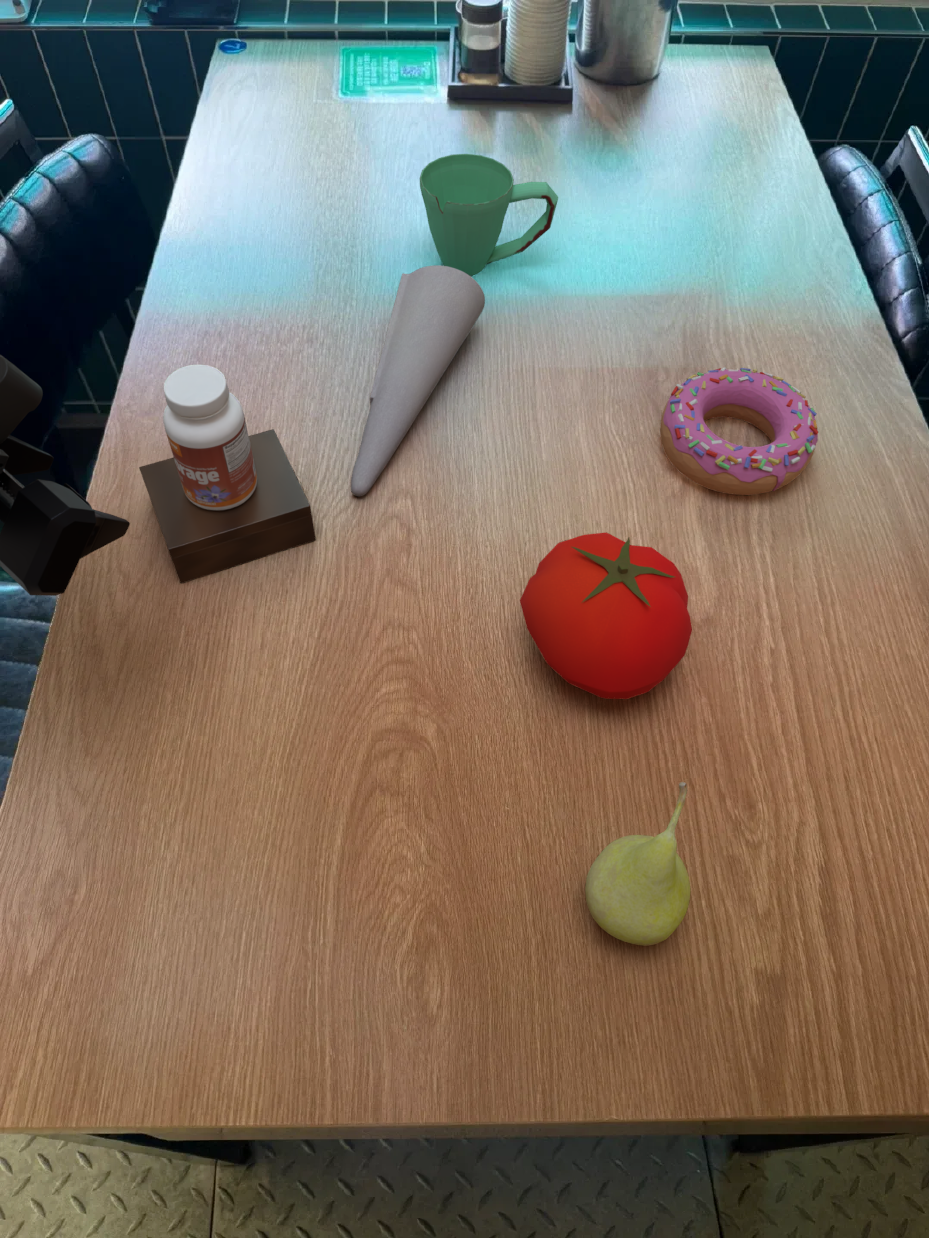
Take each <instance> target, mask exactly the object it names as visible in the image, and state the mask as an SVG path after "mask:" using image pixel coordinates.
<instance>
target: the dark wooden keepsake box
mask: <svg viewBox="0 0 929 1238" xmlns="http://www.w3.org/2000/svg"><path fill="white" fill-rule="evenodd" d="M248 436H249V441H250V445H251V450H252V455H253V460H254V465H255V469H256V474H257V484H256V488H255V490H254V492H253V494H252V495H251V496H250V497H249V499H247V500H246V501H245V502H244V503H242V504H241V505H239V506H237V507H234V508H231V509H226V510H207V509H204V508H201V507H198V506H197V505H195V504H193V503H192V502H191V501H190V500H189V499H188V498H187V496H186V494H185V492H184V490H183V487H182V483H181V480H180V477H179V473H178V470H177V467H176V463H175V460H174V458H173V457H171V458H170V457H169V458H166V459H163V460H159V461H155V462H152V463H149V464H145V465H142V466H139V471H140V474H141V477H142V480H143V482H144V485H145V488H146V492H147V494H148V497H149V500H150V503H151V506H152V509H153V511H154V514H155V517H156V519H157V522H158V525H159V528H160V530H161V534H162V537H163V539H164V542H165V546H166V547H167V550H168V553H169V556H170V559H171V562H172V565H173V567H174V569H175V572H176V575H177V578H178V581H179V583H180V584H183V583H186V582H190V581H192V580H195V579H199V578H203V577H205V576H208V575H212V574H215V573H218V572H220V571H224V570H227V569H230V568H233V567H236V566H239V565H243V564H246V563H248V562H249V563H250V562H253V561H255V560H258V559H261V558H265V557H268V556H271V555H274V554H277V553H281V552H283V551H284V552H285V551H287V550H290V549H293V548H295V547H299V546H302V545H305V544H308V543H312V542H314V541H316V540H317V538H316V532H315V525H314V519H313V512H312V506H311V504H310V502H309V500H308V498H307V496H306V494H305V491H304V489H303V487H302V485H301V483H300V481H299V479H298V476H297V475H296V473H295V470H294V469H293V466H292V464H291V462H290V460H289V458H288V456H287V454H286V452H285V450H284V448H283V446H282V443H281V441H280V440H279V437H278V435H277V433H276V431H275V429H273V428H272V429H268V430H264V431H262V432H261V431H260V432H258V433H255V434H251V435H248Z"/></svg>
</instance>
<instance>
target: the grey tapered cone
mask: <svg viewBox="0 0 929 1238" xmlns="http://www.w3.org/2000/svg"><path fill="white" fill-rule="evenodd" d="M485 305H486V296H485V292H484V290H483V288H482V287H481V285H480V284H479V283H478V282H477V280H476V279H474V278H473V276H469V275H468V274H466V273H464V272H462V271H460V270H458V269H455V268H452V267H448V266H443V265H440V264H439V265H438V264H437V265H427V266H423V267H419V268H418V269H416V270H414V271H412V272H411V273H401V276H400V280H399V284H398V288H397V291H396V294H395V299H394V303H393V306H392V311H391V315H390V318H389V323H388V327H387V330H386V334H385V338H384V342H383V345H382V349H381V352H380V356H379V361H378V364H377V368H376V372H375V377H374V379H373V384H372V387H371V388H372V389H371V391H370V395H369V404H370V405H369V406H370V408H369V412H368V415H367V418H366V422H365V425H364V429H363V433H362V438H361V440H360V445H359V449H358V452H357V456H356V459H355V462H354V464H353V466H352V473H351V478H350V491H351V493H352V495H353V496H356V497H362V496H365V495H366V494H367V493H368V492H369V491H370V490H371V488H372V487H373V485H374V484H375V482H376V481H377V479H378V478H379V476H380V475H381V473H382V472H383V470H384V469H385V468H386V466H387V465H388V463H389V462H390V460H391V458H392V456H393V455H394V454H395V452H396V450H397V449H398V447H399V445H400V444H401V443H402V441H403V440H404V437H405V436H406V434H407V433H408V431H409V430H410V428H411V426H412V425H413V423H414V422H415V420H416V418H417V417H418V415H419V413H420V412H421V410H422V409H423V408H424V406H425V404H426V402H427V400H428V399H429V397H430V396H431V394H432V393H433V391H434V389H435V388H436V386H437V384H438V383H439V381H440V380H441V378H442V377H443V375H444V374H445V372H446V370H447V369H448V367H449V366H450V364H451V363H452V361H453V359H454V358H455V356H456V354H457V352H458V351H459V349H460V347H461V346H462V344H463V343H464V342H465V340H466V338H467V337H468V336H469V334H470V332H471V331H472V329H473V327H474V326H475V324H476V323H477V321H478V319H479V317H480V316H481V314H482V313H483V312H484V309H485Z"/></svg>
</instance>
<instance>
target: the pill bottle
mask: <svg viewBox="0 0 929 1238" xmlns="http://www.w3.org/2000/svg"><path fill="white" fill-rule="evenodd" d="M163 394H164V398H165V402H166V406H165V408H164V410H163V413H162V422H163V423H162V424H163V427H164V432H165V434H166V437H167V441H168V444H169V447H170V450H171V454H172V456H173V457H172V458H174V460H175V463H176V467H177V470H178V473H179V477H180V480H181V483H182V487H183V490H184V492H185V494H186V496H187V498H188V499H189V500H190V501H191V502H192V503H193V504H195V505H197V506H198V507H201V508H204V509H207V510H226V509H231V508H234V507H237V506H239V505H241V504H242V503H244V502H245V501H246V500H247V499H249V497H250V496H251V495H252V494H253V492H254V490H255V488H256V484H257V474H256V469H255V465H254V460H253V455H252V450H251V445H250V441H249V436H250V435H249V432H248V427H247V422H246V417H245V413H244V408H243V406H242V403H241V402H240V401H239V399H238V397H236V396H235V394H233V393H231V391H230V388H229V386H228V381H227V378H226V376H225V375H224V373H223V372H221V370H219V369H218V368H216V367H215V366H212V365H207V364H188V365H185V366H182V367H179V368H177V369H175V370H174V371H173V372H171V373H170V374H169V375H168V376H167V377H166V379H165V381H164V383H163Z"/></svg>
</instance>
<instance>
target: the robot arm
mask: <svg viewBox="0 0 929 1238" xmlns="http://www.w3.org/2000/svg"><path fill="white" fill-rule="evenodd" d="M43 393H44V392H43V388H42V387H41V386H40V385H39V384H38V382H36V381H35V380H33V379H32V378H30V376H28V375H27V374H26V373H24V372H23V371H22V370H21V369H20V368H19V367H17V366H16V365H15V364H14V363H12V362H11V361H9V360H8V359H7V358H5V356H3V355H2V354H0V522H2V523H3V526H2V528H1V531H0V567H1V568H2V569H3V571H5V573H6V574H8V575H9V576H10V578H12V579H13V580H14V581H15V582H16V583H17V584H18V585H19V586H20V587H21V588H22V589H23V590H24V591H25V592H26V593H27V594H28V595H29V596H45V597H46V596H49V597H51V596H52V597H55V596H61V595H62V594H65V592H66V591H67V588H68V586H69V584H70V582H71V579H72V577H73V575H74V573H75V571H76V569H77V567H78V565H79V563H80V560H81V559H83V558H85V557H87V556H89V555H91V554H92V553H95V552H96V551H97V550H100V549H101V548H103V547H106V546H108V545H109V544H111V543H113V542H115V541H117V540H119V539H120V538H123V537H124V536H125V535H126V533H127V532H128V529H129V528H130V526H131V524H130V521H129V520H127V519H126V518H123V517H120V516H117V515H114V514H110V513H107V512H105V511H100V510H97V509H93V507H92V505H91V504H90V503H89V501H87V500H86V499H85V498H84V497H83V496H82V495H81V494H80V493H79V492H77V491H76V490H75V489H74V488H73V487H71V485H69V484H68V483H67V482H64V484H63V485H62V484H59V483H58V482H55V481H52V480H46V479H39V478H37V479H35V480H34V481H32V482H30V483H29V484H27V485H25V486H24V484H22V483H21V482H20V481H19V480H18V479H16V477H14V476H18V475H27V474H33V473H38V472H44V471H49V470H50V469H51V467H52V465H53V462H54V456H53V455H52V454H50V453H48V452H46V451H45V450H42V449H40V448H38V447H36V446H34V445H32V444H29V443H27V442H26V441H23V440H21V439H19V438H17V437H15V436H13V435H11V434H12V433H13V432H14V430H15V429H16V428H17V427H18V426H19V425H20V423H21V422H22V421H23V420H24V418H25V417H26V416H27V415H28V414H29V413H30V412H34V411H35V410H36V409H37V407H38V406H39V405H40V403H41V402H42V400H43V395H44V394H43Z"/></svg>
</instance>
